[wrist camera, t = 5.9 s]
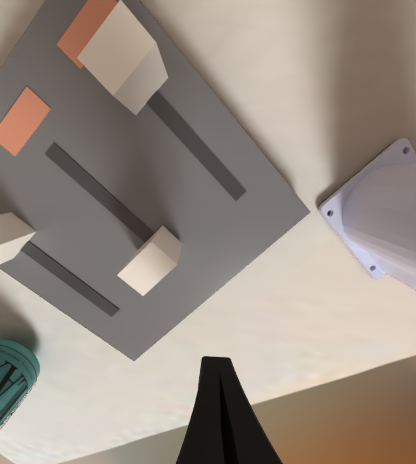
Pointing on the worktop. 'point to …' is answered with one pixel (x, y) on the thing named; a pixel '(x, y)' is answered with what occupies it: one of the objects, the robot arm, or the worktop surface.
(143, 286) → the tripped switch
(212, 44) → the worktop surface
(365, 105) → the worktop surface
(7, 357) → the beverage bottle
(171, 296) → the switch panel
